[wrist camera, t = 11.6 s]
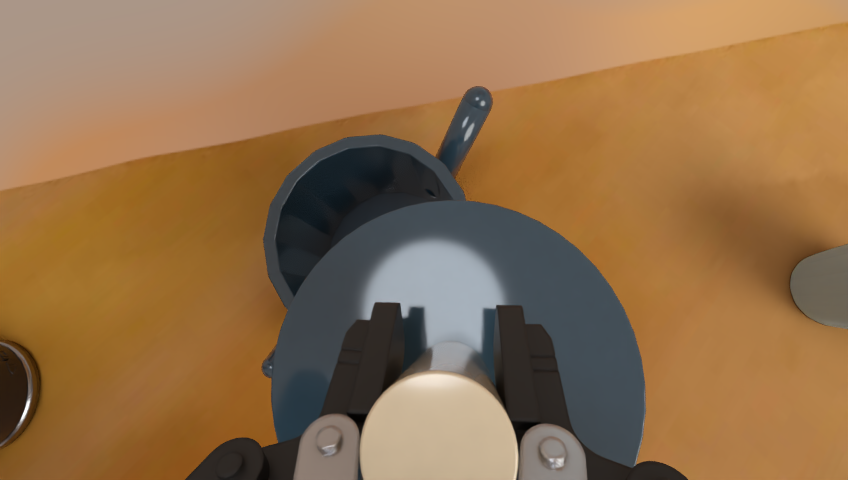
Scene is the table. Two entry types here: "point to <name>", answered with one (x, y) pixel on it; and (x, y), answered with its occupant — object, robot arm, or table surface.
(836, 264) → the cup
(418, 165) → the metal pot
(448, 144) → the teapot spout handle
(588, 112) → the table surface
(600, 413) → the pot lid
